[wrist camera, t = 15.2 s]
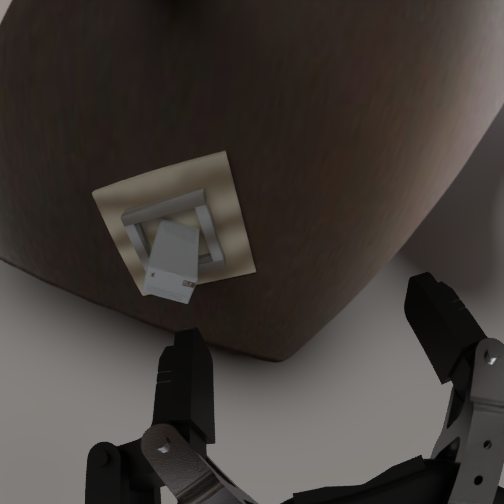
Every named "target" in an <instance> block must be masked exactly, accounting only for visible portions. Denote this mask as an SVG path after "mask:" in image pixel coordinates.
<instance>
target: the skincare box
mask: <svg viewBox="0 0 504 504" xmlns="http://www.w3.org/2000/svg"><path fill="white" fill-rule="evenodd" d="M199 235H200V230H199V229H198V228H194V227H191V226H188V225H185V224H182V223H179V222H176V221H172V220H169V219H166V218H163V217H162V218H161V221H160V224H159V227H158V230H157V233H156V237H155V240H154V244H153V247H152V250H151V254H150V258H149V262H148V266H147V270H146V274H145V278H144V282H143V286H142V292H145V293H149V294H152V295H156V296H159V297H163V298H167V299H171V300H174V301H178V302H182V303H185V304H188V303H189V300H190V298H191V295H192V293H193V290H194V288H195V286H196V283H197V281H198V255H199Z"/></svg>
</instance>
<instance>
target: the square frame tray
mask: <svg viewBox="0 0 504 504" xmlns="http://www.w3.org/2000/svg"><path fill="white" fill-rule="evenodd" d="M92 195H93V197H94V199H95V201H96V204H97V206H98V208H99V210H100V213H101V215H102V217H103V219H104V221H105V224H106V226H107V228H108V230H109V232H110V234H111V236H112V238H113V240H114V242H115V244H116V246H117V248H118V250H119V252H120V254H121V256H122V258H123V260H124V262H125V264H126V266H127V268H128V270H129V272H130V274H131V275H132V277H133V279H134V281H135V283H136V285H137V286H138V288H139V290H140V292H141V294H142V295H143V296H145V295H150V294H149V293H145V292H142V286H143V282H144V278H145V274H146V270H147V266H148V262H149V258H150V254H151V250H152V247H153V244H154V240H155V237H156V233H157V230H158V227H159V224H160V221H161V218H162V217H163V218H166V219H169V220H172V221H176V222H179V223H182V224H185V225H188V226H191V227H194V228H198V229H199V230H200V235H199V255H198V281H197V283H196V285H198V284H203V283H208V282H212V281H217V280H222V279H226V278H231V277H235V276H240V275H245V274H249V273H254V272H256V269H255V265H254V261H253V257H252V253H251V249H250V245H249V241H248V237H247V233H246V229H245V225H244V221H243V217H242V213H241V209H240V205H239V201H238V198H237V194H236V190H235V186H234V182H233V178H232V174H231V170H230V166H229V162H228V158H227V154H226V151H222V152H218V153H214V154H210V155H206V156H203V157H199V158H195V159H191V160H188V161H184V162H180V163H177V164H173V165H170V166H167V167H163V168H160V169H157V170H153V171H150V172H147V173H144V174H141V175H137V176H134V177H131V178H128V179H125V180H122V181H119V182H117V183H114V184H111V185H108V186H105V187H102V188H100V189H97V190H94V191H93V193H92Z"/></svg>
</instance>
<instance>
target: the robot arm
mask: <svg viewBox="0 0 504 504" xmlns="http://www.w3.org/2000/svg"><path fill="white" fill-rule="evenodd" d="M404 311H405V315H406V318H407V320H408V322H409V324H410V325H411V327H412V329H413V331H414V333H415V334H416V336H417V338H418V340H419V342H420V343H421V345H422V347H423V348H424V351H425V353H426V354H427V356H428V358H429V360H430V362H431V364H432V365H433V368H434V370H435V372H436V374H437V376H438V378H439V380H440V382H441V384H444V383H447V382H449V381H452V383H453V388H452V391H451V396H450V401H449V405H448V409H447V413H446V417H445V421H444V425H443V429H442V432H441V434H440V436H439V438H438V440H437V442H436V444H435V447H434V449H433V452H432V455H431V458H430V459H423V458H422V455H420V456H417V457H415V458H412V459H410V460H408V461H405V462H403V463H400V464H398V465H395V466H393V467H391V468H389V469H388V470H386V471H385V472H383V473H381V474H380V475H378V476H377V477H375V478H373V479H372V480H370V481H368V482H367V483H365V484H362V485H355V486H335V487H334V486H333V487H323V488H319V489H314V490H309V491H304V492H299V493H293V498H291V499H289V500H286V501H284V502H283V503H281V504H504V488H502V487H500V486H498V483H499V480H500V475H501V472H502V468H503V463H504V344H503V343H501V342H500V341H499V340H497V339H494V338H488V337H487V336H486V335H485V334H484V332H483V330H482V329H481V328H480V326H479V325H478V323H477V322H476V320H475V319H474V317H473V316H472V315H471V313H470V312H469V310H468V309H467V308H465V305H464V304H463V303H462V301H461V300H459V297H458V296H457V294H456V293H455V292H454V290H453V289H452V288H451V287H449V286H448V285H446V284H445V283H443V282H439V283H438V282H437V281H436V280H435V278H434V277H433V276H432V275H431V274H430V273H429V272H425V273H422V274H419V275H416V276H412V277H410V279H409V283H408V288H407V293H406V299H405V304H404ZM213 391H214V390H213V362H212V357H211V354H210V351H209V349H208V347H207V345H206V343H205V341H204V339H203V337H202V335H201V334H200V332H199V330H198V328H197V327H194V328H188V329H183V330H177V331H176V333H175V340H174V346H167V347H166V348H165V349H164V351H163V353H162V355H161V357H160V358H159V366H158V374H157V384H156V392H155V401H154V413H153V421H152V425H151V427H150V428H149V429H147V430H146V431H145V433H144V434H143V436H142V438H140V439H138V440H135V441H132V442H129V443H126V444H123V445H120V446H115V445H113V444H112V443H109V442H100V443H97V444H96V445H94V446H93V447H92V448H91V450H90V452H89V454H88V459H87V471H86V489H85V504H161V493H160V487H162V486H167V487H168V488H169V490H170V491H171V492H172V493H173V495H174V496H175V497H176V499H177V501H178V503H177V504H258V503H257V502H256V501H254V500H253V499H252V498H251V497H250V496H249V495H247V494H246V493H245V492H244V491H242V490H241V489H240V488H239V487H238V486H237V485H236V484H234V482H233V481H231V480H230V479H229V478H228V477H227V476H226V475H225V474H224V473H223V472H222V471H221V470H220V469H219V467H218V466H216V464H215V463H214V462H213V461H212V460H211V459H210V458H209V457H208V456H207V454H206V444H214V443H215V423H214V392H213Z"/></svg>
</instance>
